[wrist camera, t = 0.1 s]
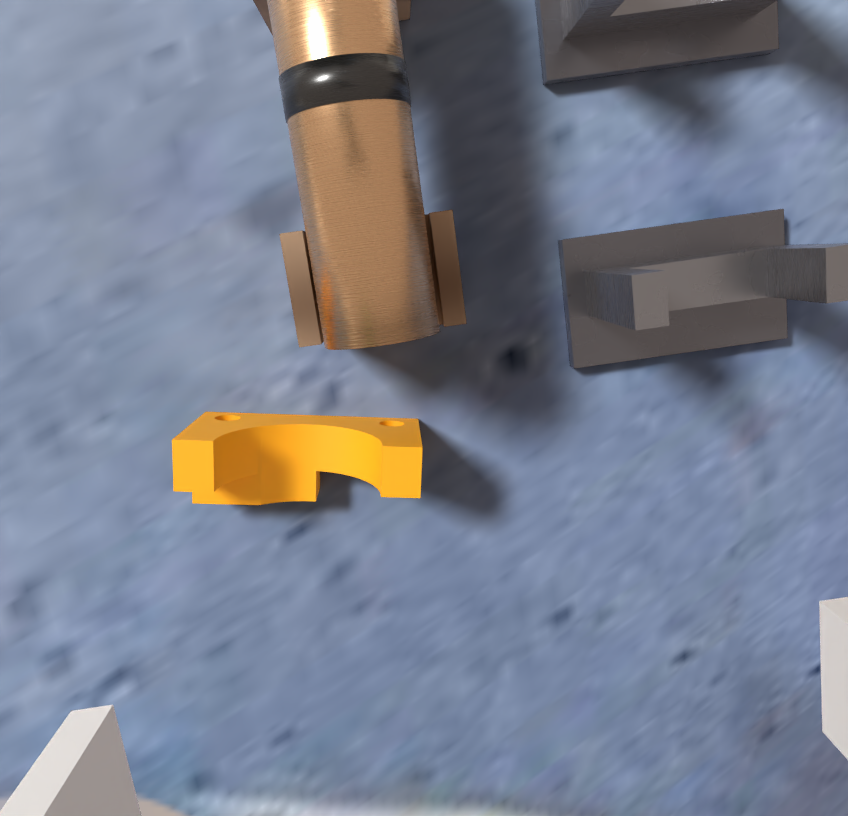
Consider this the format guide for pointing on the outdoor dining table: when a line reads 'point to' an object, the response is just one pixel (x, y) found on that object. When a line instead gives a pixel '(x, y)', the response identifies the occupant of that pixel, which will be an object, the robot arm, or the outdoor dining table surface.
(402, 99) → the tube
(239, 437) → the pipe clamp
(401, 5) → the walnut rest
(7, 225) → the outdoor dining table surface
